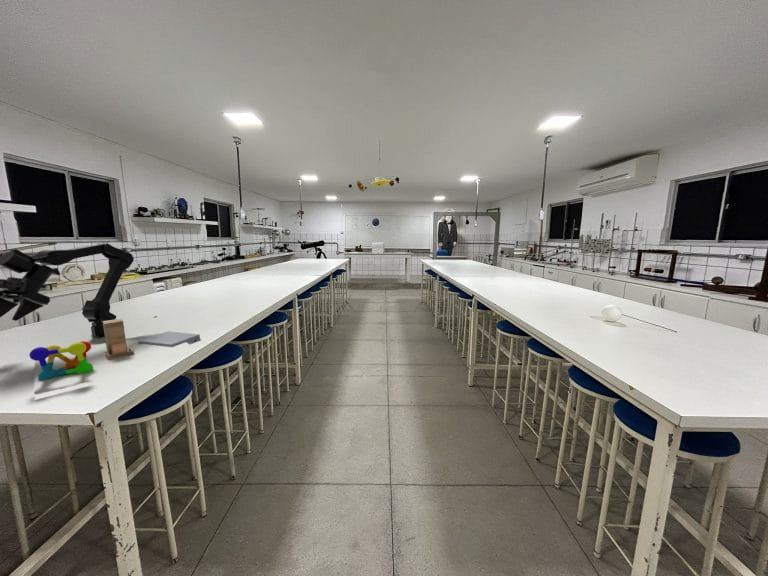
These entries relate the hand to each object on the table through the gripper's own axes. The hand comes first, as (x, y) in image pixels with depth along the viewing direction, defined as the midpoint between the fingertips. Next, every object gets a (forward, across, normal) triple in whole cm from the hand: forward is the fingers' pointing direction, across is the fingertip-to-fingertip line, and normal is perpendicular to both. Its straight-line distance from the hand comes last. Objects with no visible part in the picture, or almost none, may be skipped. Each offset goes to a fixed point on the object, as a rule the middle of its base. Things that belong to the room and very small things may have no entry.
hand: (4, 319), depth 103 cm
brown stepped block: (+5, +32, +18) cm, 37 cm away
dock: (-5, +36, +31) cm, 48 cm away
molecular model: (+15, +34, +5) cm, 38 cm away
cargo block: (+5, +34, +16) cm, 38 cm away
